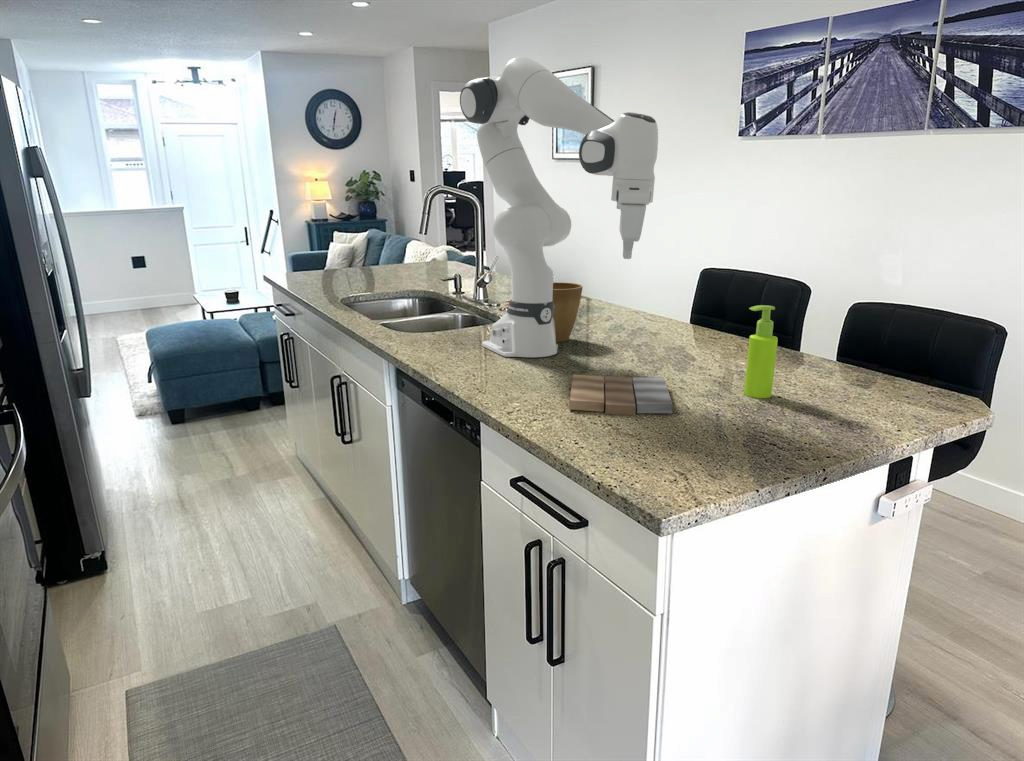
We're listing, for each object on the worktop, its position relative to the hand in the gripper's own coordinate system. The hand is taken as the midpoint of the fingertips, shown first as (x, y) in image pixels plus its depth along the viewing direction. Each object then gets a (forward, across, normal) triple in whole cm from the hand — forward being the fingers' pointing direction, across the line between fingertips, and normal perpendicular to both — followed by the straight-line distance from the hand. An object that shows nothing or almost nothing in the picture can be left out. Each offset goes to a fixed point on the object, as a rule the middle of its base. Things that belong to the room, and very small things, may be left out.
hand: (626, 258), depth 160 cm
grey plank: (+28, +11, +7) cm, 31 cm away
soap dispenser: (+28, +4, +31) cm, 42 cm away
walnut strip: (+29, +11, 0) cm, 31 cm away
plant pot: (+31, -45, -16) cm, 57 cm away
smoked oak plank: (+29, +11, -7) cm, 32 cm away
